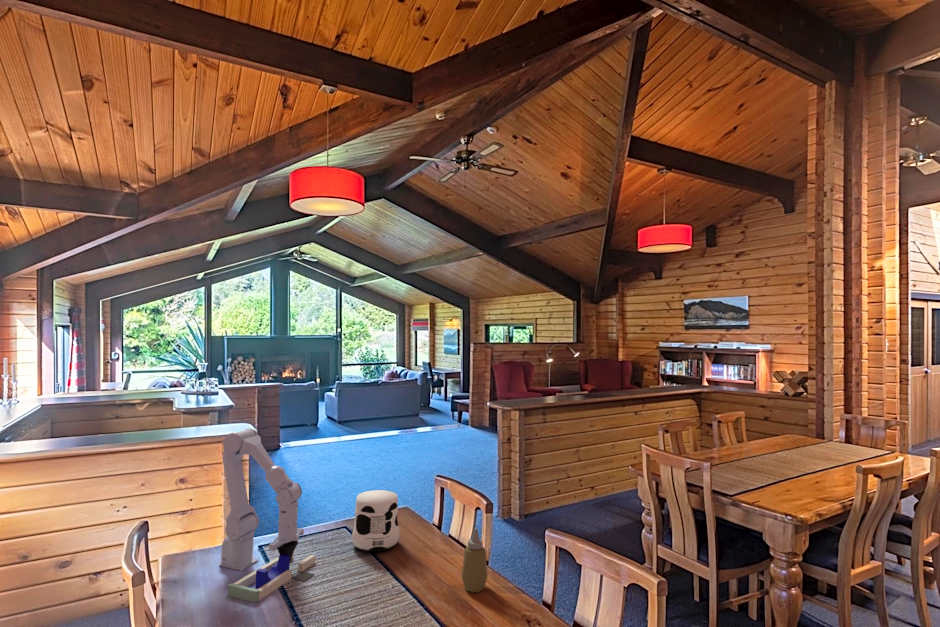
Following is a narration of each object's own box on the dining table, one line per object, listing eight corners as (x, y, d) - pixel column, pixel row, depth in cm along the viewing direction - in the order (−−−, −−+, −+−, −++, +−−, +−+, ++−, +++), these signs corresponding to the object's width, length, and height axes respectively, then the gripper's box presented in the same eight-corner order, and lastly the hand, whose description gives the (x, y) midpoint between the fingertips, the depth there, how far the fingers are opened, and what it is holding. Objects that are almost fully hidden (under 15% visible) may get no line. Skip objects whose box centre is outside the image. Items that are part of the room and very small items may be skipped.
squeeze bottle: (490, 584, 154) (491, 526, 155) (482, 597, 146) (484, 536, 148) (466, 580, 157) (467, 522, 158) (457, 592, 149) (459, 531, 150)
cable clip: (277, 572, 158) (277, 553, 159) (288, 574, 157) (289, 555, 158) (251, 590, 147) (252, 569, 147) (263, 592, 146) (264, 572, 146)
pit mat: (291, 578, 155) (291, 578, 155) (301, 571, 159) (301, 571, 159) (304, 581, 153) (304, 581, 153) (314, 574, 158) (314, 573, 158)
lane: (227, 595, 144) (227, 585, 144) (289, 557, 169) (289, 548, 169) (256, 602, 140) (256, 591, 140) (315, 562, 166) (315, 553, 166)
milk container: (376, 532, 193) (377, 486, 194) (408, 544, 183) (410, 495, 184) (341, 547, 179) (343, 497, 180) (374, 560, 169) (376, 507, 170)
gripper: (282, 532, 152) (280, 576, 152) (311, 516, 166) (310, 557, 165) (264, 528, 155) (262, 572, 154) (294, 513, 168) (292, 554, 168)
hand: (285, 564), depth 160 cm, fingers closed
